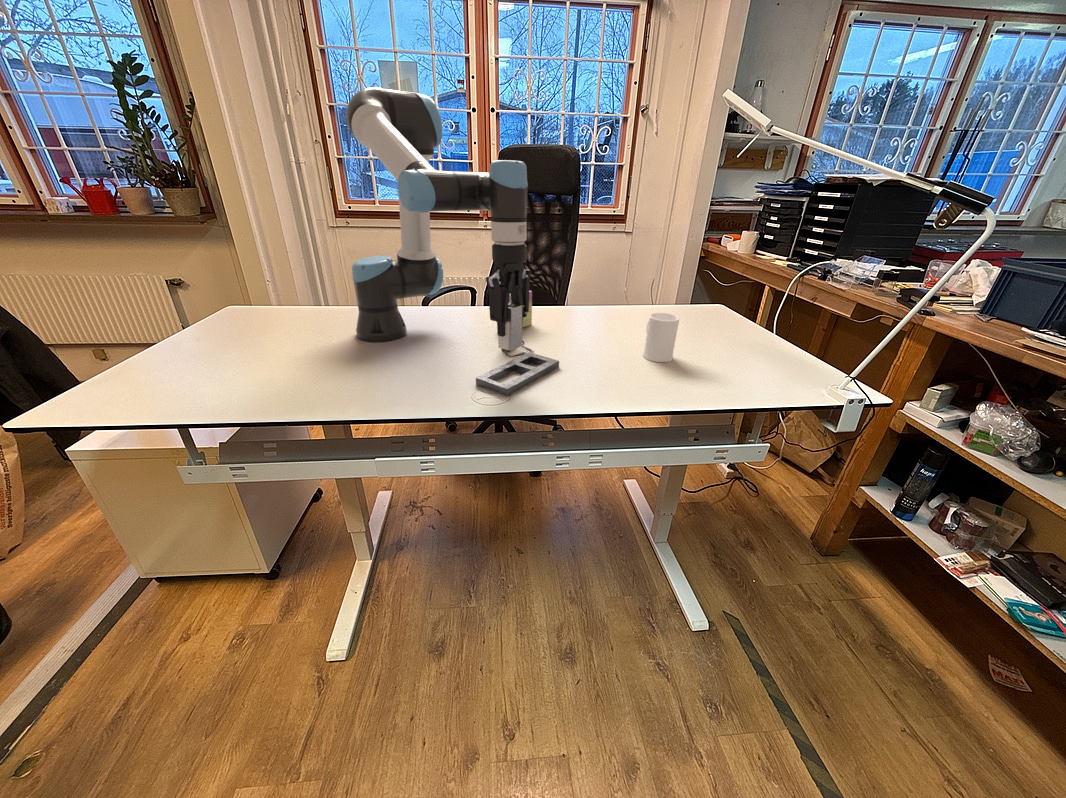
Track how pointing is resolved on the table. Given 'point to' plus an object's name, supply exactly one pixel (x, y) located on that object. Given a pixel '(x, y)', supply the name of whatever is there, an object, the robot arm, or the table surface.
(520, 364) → the grey flat frame
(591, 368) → the table surface
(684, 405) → the table surface
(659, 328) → the mug
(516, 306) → the grey tall block
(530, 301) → the box
